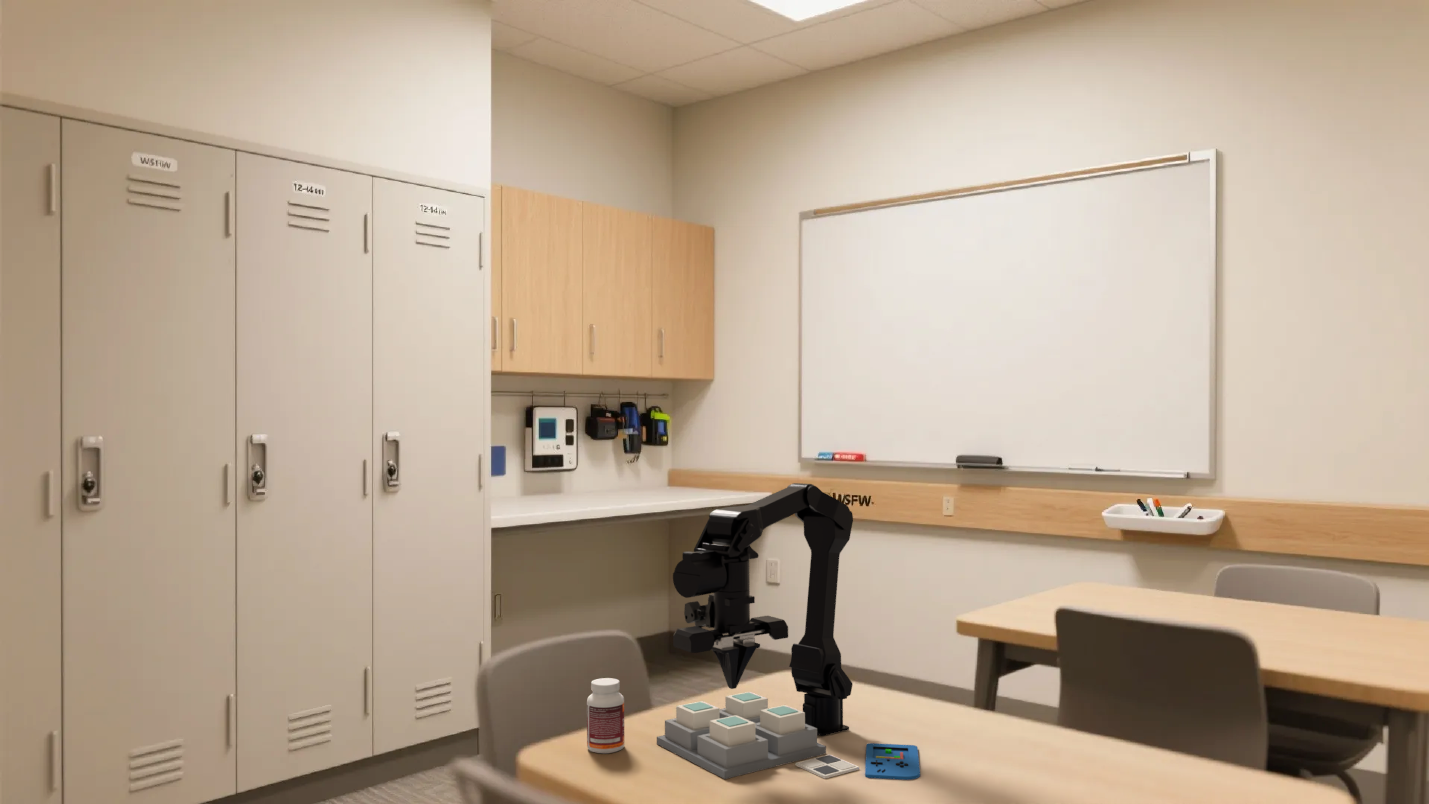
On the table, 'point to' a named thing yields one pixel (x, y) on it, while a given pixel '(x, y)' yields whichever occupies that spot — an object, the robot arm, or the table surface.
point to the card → (827, 766)
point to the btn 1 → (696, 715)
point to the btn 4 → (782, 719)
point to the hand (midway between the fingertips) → (732, 688)
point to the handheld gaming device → (892, 761)
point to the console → (740, 748)
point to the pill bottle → (605, 716)
